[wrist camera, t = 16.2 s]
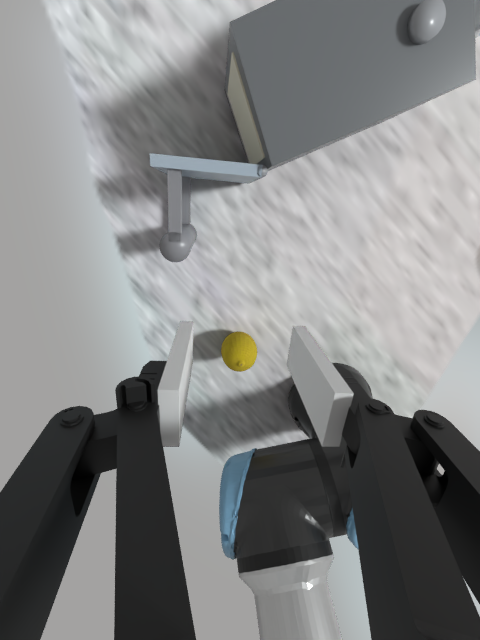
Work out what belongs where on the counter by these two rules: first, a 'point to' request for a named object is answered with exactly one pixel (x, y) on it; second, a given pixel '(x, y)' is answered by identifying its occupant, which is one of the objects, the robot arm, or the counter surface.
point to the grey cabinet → (340, 68)
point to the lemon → (239, 351)
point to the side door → (179, 194)
